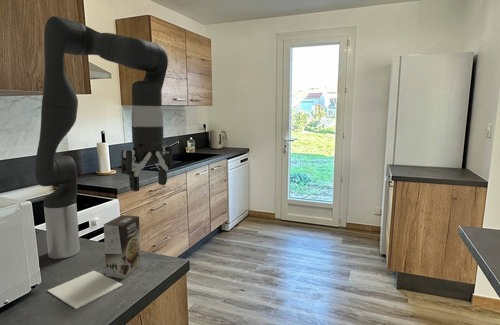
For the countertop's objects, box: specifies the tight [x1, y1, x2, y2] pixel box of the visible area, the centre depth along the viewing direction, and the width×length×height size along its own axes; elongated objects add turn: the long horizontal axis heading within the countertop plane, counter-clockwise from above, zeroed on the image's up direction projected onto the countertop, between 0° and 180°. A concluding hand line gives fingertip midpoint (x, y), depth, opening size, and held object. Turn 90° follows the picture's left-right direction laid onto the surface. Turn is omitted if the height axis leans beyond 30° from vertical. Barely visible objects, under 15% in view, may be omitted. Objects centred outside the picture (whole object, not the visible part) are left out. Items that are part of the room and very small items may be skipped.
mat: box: [47, 270, 124, 310], centre depth 85 cm, size 14×13×1 cm
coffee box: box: [103, 215, 142, 279], centre depth 94 cm, size 9×6×16 cm
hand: (149, 187), depth 80 cm, fingers open, 8 cm apart
